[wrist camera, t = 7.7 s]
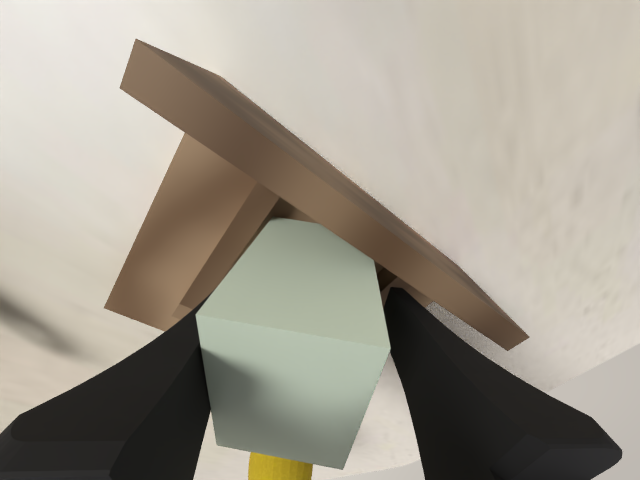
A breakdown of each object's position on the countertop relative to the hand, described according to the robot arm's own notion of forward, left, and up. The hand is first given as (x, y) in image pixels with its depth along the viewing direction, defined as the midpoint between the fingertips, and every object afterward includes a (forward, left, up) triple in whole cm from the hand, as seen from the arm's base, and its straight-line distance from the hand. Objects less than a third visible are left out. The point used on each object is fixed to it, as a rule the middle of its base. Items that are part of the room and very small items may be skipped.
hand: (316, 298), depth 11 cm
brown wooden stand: (0, +3, -4) cm, 5 cm away
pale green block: (0, 0, -2) cm, 2 cm away
